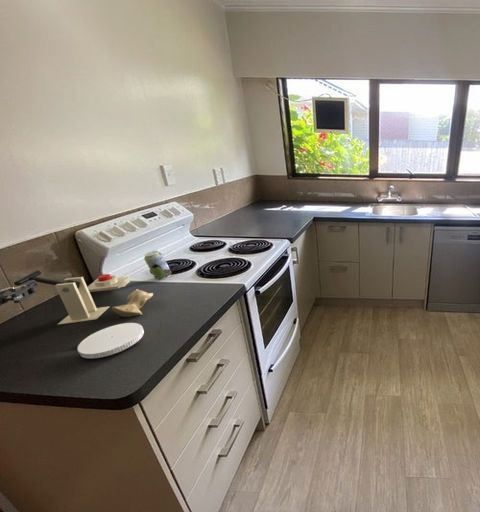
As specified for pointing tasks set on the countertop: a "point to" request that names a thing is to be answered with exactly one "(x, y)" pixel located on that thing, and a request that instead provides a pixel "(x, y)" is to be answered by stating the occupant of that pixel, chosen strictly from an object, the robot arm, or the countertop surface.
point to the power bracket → (78, 301)
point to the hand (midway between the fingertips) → (15, 284)
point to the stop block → (108, 284)
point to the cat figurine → (133, 304)
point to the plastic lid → (110, 340)
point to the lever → (40, 280)
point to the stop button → (104, 277)
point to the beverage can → (157, 265)
